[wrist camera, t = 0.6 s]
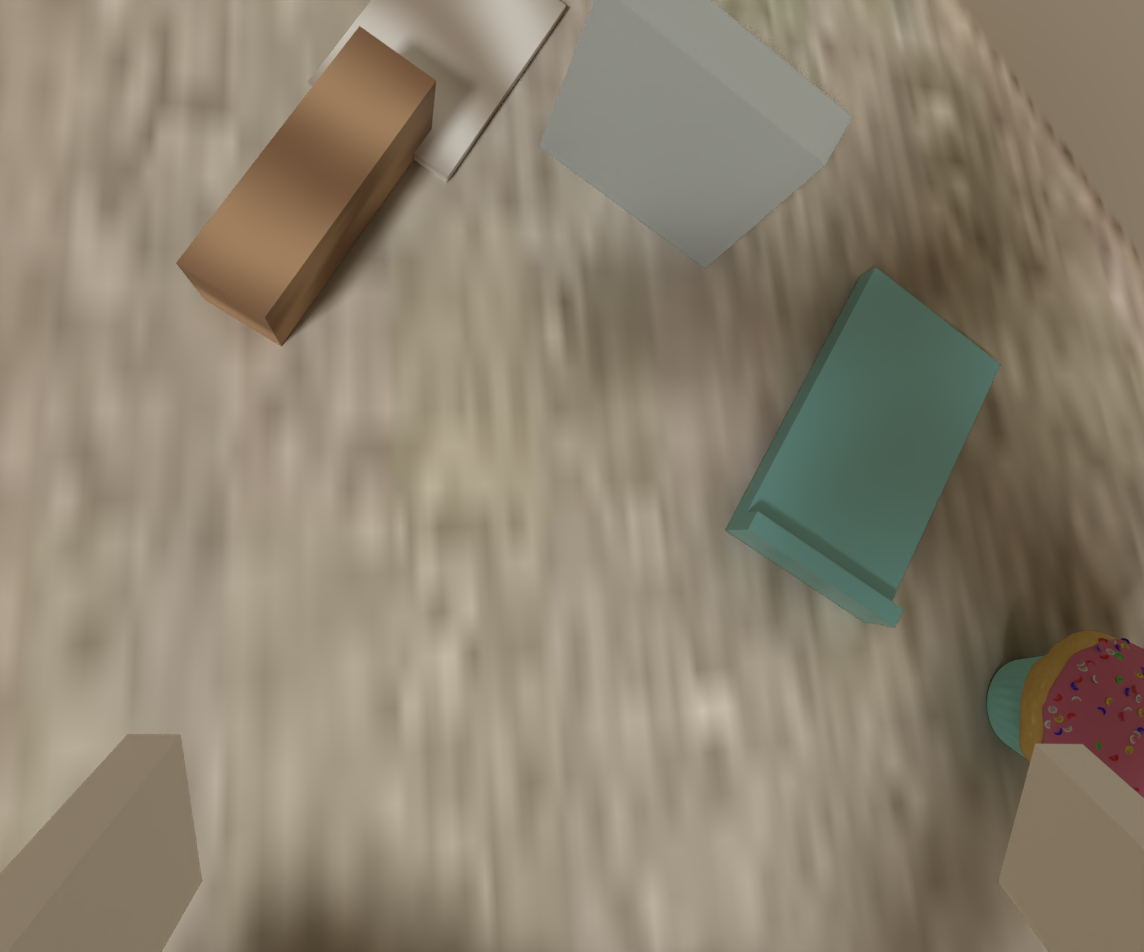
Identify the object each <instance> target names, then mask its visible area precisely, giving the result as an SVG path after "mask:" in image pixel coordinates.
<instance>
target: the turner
mask: <svg viewBox="0 0 1144 952" xmlns="http://www.w3.org/2000/svg"><path fill="white" fill-rule="evenodd" d="M565 8H566V5H565V4H564V3H562V2H561V1H560V0H371V1H370V3H369V4H368V5H367V7H366V8H365V9H364V10H363V12H362V13H361V14H360V16H359V17H358V18H357V19H356V21H355V22H354V23H353V25H352V26H351V27H350V28H349V30H348V31H347V32H346V34H345V35H344V36H343V37H342V39H341V40H340V41H339V43H338V44H337V45H336V46H335V48H334V49H333V50H332V52H331V53H330V54H329V55H328V57H327V58H326V59H325V61H324V62H323V63H322V65H321V66H320V67H319V68H318V70H317V71H316V72H315V74H314V75H313V76H312V77H311V79H310V80H309V81H308V82H309V87H310V91H309V92H308V93H307V95H306V96H305V97H304V98H303V100H302V101H301V102H300V104H299V105H298V106H297V107H296V109H295V110H294V111H293V113H292V114H291V115H290V117H289V118H288V119H287V120H286V122H285V123H284V124H283V126H282V127H281V128H280V129H279V131H278V132H277V133H276V135H275V136H274V137H273V139H272V140H271V141H270V142H269V144H268V145H267V146H266V148H265V149H264V150H263V151H262V153H261V154H260V155H259V157H258V158H257V159H256V161H255V162H254V163H253V164H252V166H251V167H250V168H249V170H248V171H247V172H246V173H245V175H244V176H243V177H242V179H241V180H240V181H239V183H238V184H237V185H236V186H235V188H234V189H233V190H232V192H231V193H230V194H229V195H228V197H227V198H226V199H225V201H224V202H223V203H222V205H221V206H220V207H219V208H218V210H217V211H216V212H215V214H214V215H213V216H212V217H211V219H210V220H209V221H208V223H207V224H206V225H205V227H204V228H203V229H202V230H201V232H200V233H199V234H198V236H197V237H196V238H195V239H194V241H193V242H192V243H191V245H190V246H189V247H188V249H187V250H186V251H185V252H184V254H183V255H182V256H181V258H180V259H179V260H178V261H177V265H178V266H179V267H180V269H181V270H182V271H183V272H184V274H185V275H186V276H187V278H188V279H189V280H190V281H191V283H192V284H193V285H194V287H195V288H196V289H197V290H198V292H199V293H200V294H201V296H202V297H203V298H204V299H205V300H206V301H208V302H209V303H211V304H213V305H214V306H216V307H218V308H219V309H221V310H222V311H224V312H226V313H227V314H229V315H231V316H232V317H234V318H236V319H237V320H239V321H241V322H242V323H244V324H245V325H247V326H249V327H250V328H252V329H254V330H255V331H257V332H259V333H260V334H262V335H264V336H265V337H267V338H268V339H270V340H272V341H273V342H275V343H277V344H278V345H280V346H282V345H283V343H284V342H285V340H286V339H287V338H288V336H289V335H290V333H291V332H292V331H293V329H294V328H295V326H296V325H297V323H298V322H299V321H300V319H301V318H302V316H303V315H304V314H305V312H306V311H307V309H308V308H309V307H310V305H311V304H312V302H313V301H314V300H315V298H316V297H317V295H318V294H319V292H320V291H321V290H322V288H323V287H324V285H325V284H326V283H327V281H328V280H329V278H330V277H331V276H332V274H333V273H334V271H335V270H336V269H337V267H338V266H339V264H340V263H341V261H342V260H343V259H344V257H345V256H346V254H347V253H348V252H349V250H350V249H351V247H352V246H353V245H354V243H355V242H356V240H357V239H358V238H359V236H360V235H361V233H362V232H363V230H364V229H365V228H366V226H367V225H368V223H369V222H370V221H371V219H372V218H373V216H374V215H375V214H376V212H377V211H378V209H379V208H380V207H381V205H382V204H383V202H384V201H385V200H386V198H387V197H388V195H389V194H390V192H391V191H392V190H393V188H394V187H395V185H396V184H397V183H398V181H399V180H400V178H401V177H402V176H403V174H404V173H405V171H406V170H407V169H408V167H409V166H410V164H411V163H412V161H413V160H414V161H416V162H417V163H419V164H420V165H422V166H423V167H425V168H426V169H428V170H429V171H430V172H432V173H433V174H435V175H436V176H438V177H439V178H441V179H442V180H444V181H445V182H446V183H447V182H448V180H449V179H450V177H451V176H452V175H453V173H454V172H455V170H456V169H457V167H458V166H459V164H460V163H461V162H462V160H463V159H464V157H465V156H466V154H467V153H468V151H469V150H470V149H471V147H472V146H473V144H474V143H475V141H476V140H477V138H478V137H479V135H480V134H481V133H482V131H483V130H484V128H485V127H486V125H487V124H488V122H489V121H490V120H491V118H492V117H493V115H494V114H495V112H496V111H497V109H498V108H499V106H500V105H501V104H502V102H503V101H504V99H505V98H506V96H507V95H508V93H509V92H510V91H511V89H512V88H513V86H514V85H515V83H516V82H517V80H518V79H519V78H520V76H521V75H522V73H523V72H524V70H525V69H526V67H527V66H528V64H529V63H530V62H531V60H532V59H533V57H534V56H535V54H536V53H537V51H538V50H539V49H540V47H541V46H542V44H543V43H544V41H545V40H546V38H547V37H548V35H549V34H550V33H551V31H552V30H553V28H554V27H555V25H556V24H557V22H558V21H559V20H560V18H561V17H562V15H563V14H564V11H565Z"/></svg>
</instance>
